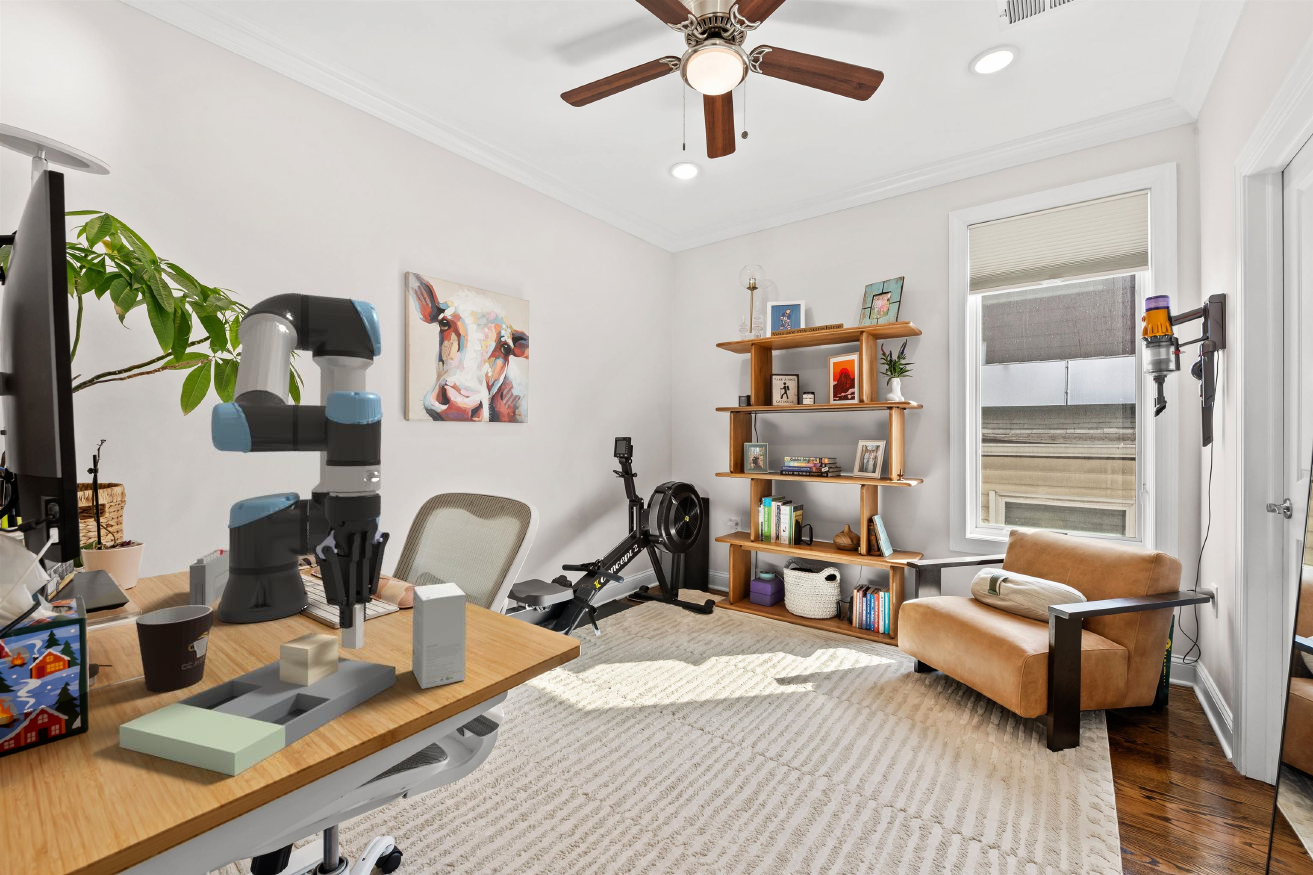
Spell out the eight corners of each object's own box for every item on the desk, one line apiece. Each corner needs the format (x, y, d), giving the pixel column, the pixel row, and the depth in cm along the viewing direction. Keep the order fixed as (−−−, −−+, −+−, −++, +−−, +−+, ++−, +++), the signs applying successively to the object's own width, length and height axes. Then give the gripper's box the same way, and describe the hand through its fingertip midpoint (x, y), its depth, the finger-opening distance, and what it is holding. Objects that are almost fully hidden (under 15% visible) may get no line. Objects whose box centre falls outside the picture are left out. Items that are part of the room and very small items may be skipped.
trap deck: (300, 666, 91) (300, 651, 91) (395, 683, 86) (395, 666, 86) (119, 746, 68) (119, 725, 68) (234, 776, 63) (234, 753, 63)
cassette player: (221, 589, 133) (221, 545, 132) (235, 588, 133) (235, 544, 133) (189, 610, 118) (189, 560, 117) (205, 609, 118) (205, 560, 118)
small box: (466, 680, 87) (467, 593, 87) (421, 690, 84) (421, 600, 84) (453, 661, 94) (454, 581, 94) (411, 669, 91) (412, 586, 90)
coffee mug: (160, 700, 79) (160, 627, 79) (121, 689, 82) (121, 619, 82) (246, 668, 90) (246, 603, 90) (208, 659, 93) (209, 597, 93)
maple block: (310, 666, 85) (311, 632, 85) (338, 671, 84) (338, 636, 84) (279, 680, 80) (279, 644, 80) (308, 685, 79) (308, 649, 79)
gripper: (338, 499, 82) (337, 666, 82) (404, 489, 94) (403, 635, 94) (296, 496, 84) (296, 659, 84) (366, 487, 96) (365, 629, 97)
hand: (352, 646), depth 89 cm, fingers closed
